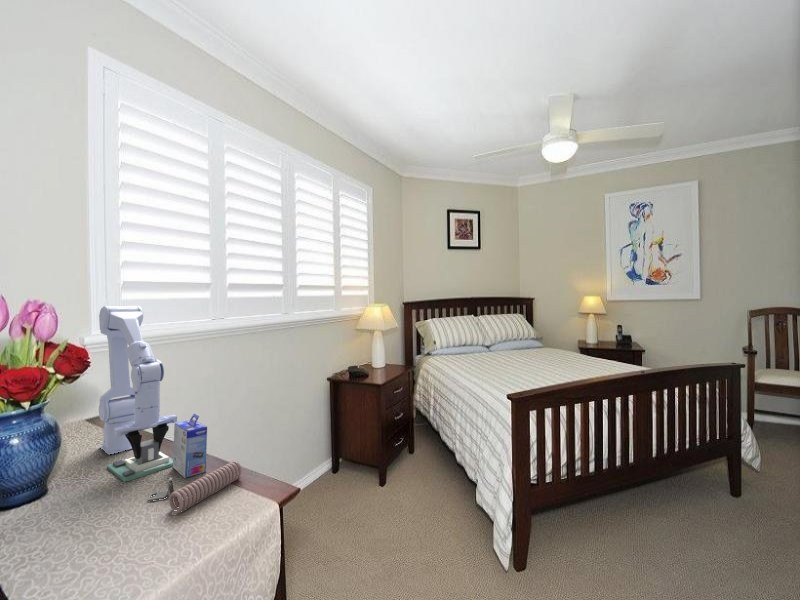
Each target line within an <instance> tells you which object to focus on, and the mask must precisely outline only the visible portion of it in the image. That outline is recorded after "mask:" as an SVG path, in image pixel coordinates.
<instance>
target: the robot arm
mask: <svg viewBox="0 0 800 600" xmlns="http://www.w3.org/2000/svg"><path fill="white" fill-rule="evenodd" d="M98 319H99V320H98V323H99V330H100V334H102V335H105V336H106V337H107V341H108V343H107V344H108V346H107V347H108V358H109V359H108V361H109V379H110V382H109V383H110V388H109V389H108V390H107V391H105V392H104V393H102V395H101V396H100V398H99V405H98V416H99V418H100V419H99V420H101V421H102V422H103V423H104V424H103V425H102V426H103V427H102V428H103V429H102V430H103V431H102V433H103V434H102V445H99V446H98V448H99V447H100V448H101V449H100V448H99V449H100V450H102V449H103V450H104V451H105V452H104V451H103V450H102V451H103V452H104V453H105V454H107V455H109V456H110V454H112V455H115V454H118V452H119V453H122V452H126V451H129V450H132V453H133V457H135V458H136V459H140V455H141V452H140V445H141V442H142V437H143V435H141V434H140V432H141V431H144V430H149V429H152V437H153V438H152V439H153V440H155V441H157V442H159V451H160V452H161V447H162V443H163V441H164V439H165V436H166V435H167V433H168V431H169V429H170V426H169V425H168V424H175V423H178V416H177V415H176V414H171V415H165V416H161V413H160V410H161V409H160V406H161V405H160V403H161V402H160V401H161V400H160V399H161V397H160V396H161V382H162V381H163V379H164V378H165V370H164V369H165V368H164V365H163V362H162V361H161V360H159V359H158V358H156V357H155V355H154V352H153V350H152V347H151V345H150V344H149V343H148V342H147V341H144V338H143V334H142V330H141V326H142V323H143V321H144V320H143V319H144V312H143V308H142V307H141V306H140V305H128V306H126V305H125V306H123V305H122V306H118V305H116V306H112V305H111V306H109V305H104V306H102V307H101V308H100V310H99V314H98ZM129 363H130V364H129ZM130 366H131V371H130ZM131 383H132V386H131ZM125 450H126V451H125ZM114 453H115V454H114Z"/></svg>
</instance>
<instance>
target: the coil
mask: <svg viewBox="0 0 800 600" xmlns="http://www.w3.org/2000/svg"><path fill="white" fill-rule="evenodd" d="M242 472H243V469H242V466H241V464H240V463H239V461H237V460H232V461H231V462H229V463H227V464H225V465H223V466H221V467H219V468H217V469H215V470H214V471H211V472H209V473H207V474H205V475H203V476H201V477H199V478H197V479H196V480H194V481H192V482H189V484H186V485H185V486H182V487H181V488H178V489H177V490H174V492H172V493H171V495H170V497H169V496H168V503H169V506H170V508H171V509H172V512H171V514H172V513H173V514H178V515H180V514H181V513H182V512H181V511H183V512H184V511H185V509H186V510H188V509H189V508H191V506H192V507H193V506H195V505H197V504H198V503H200V502H201V501H203V500H205V499H207V498H208V497H210V496H212V495H213V494H215V493H217V492H219V491H220V490H223V488H226V487H227V486H229V485H231V484H232V483H234V482H235V481H238V480H239V479H241V476H242V474H243V473H242ZM216 491H217V492H216ZM209 495H210V496H209ZM206 497H207V498H206ZM202 499H203V500H202ZM197 502H198V503H197ZM194 504H195V505H194ZM177 507H179V508H177ZM174 510H177V511H174Z"/></svg>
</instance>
